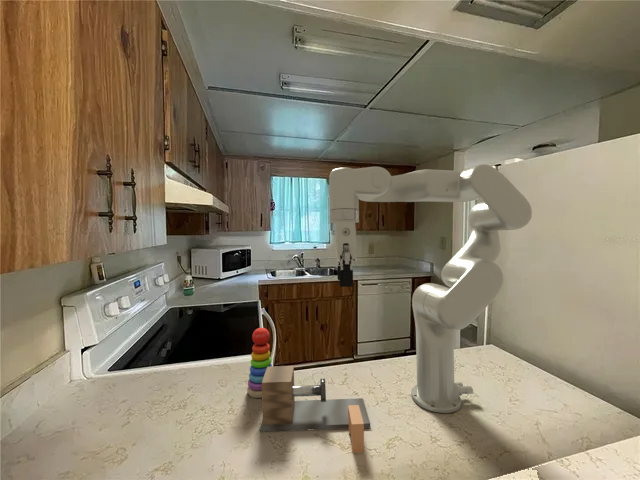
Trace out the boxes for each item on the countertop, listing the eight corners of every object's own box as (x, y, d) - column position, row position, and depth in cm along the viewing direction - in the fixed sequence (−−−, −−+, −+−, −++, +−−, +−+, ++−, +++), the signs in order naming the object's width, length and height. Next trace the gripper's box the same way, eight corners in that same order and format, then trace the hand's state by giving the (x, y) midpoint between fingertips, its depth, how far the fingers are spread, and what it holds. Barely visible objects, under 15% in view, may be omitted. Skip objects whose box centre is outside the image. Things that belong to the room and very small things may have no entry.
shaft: (325, 394, 72) (324, 374, 72) (326, 406, 67) (325, 385, 67) (265, 396, 72) (264, 376, 72) (261, 409, 67) (260, 387, 67)
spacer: (359, 430, 64) (358, 405, 64) (364, 452, 58) (363, 423, 58) (348, 430, 64) (348, 405, 64) (352, 452, 58) (351, 424, 57)
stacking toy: (268, 400, 77) (266, 333, 76) (242, 398, 78) (240, 332, 78) (278, 385, 84) (276, 324, 84) (254, 383, 86) (252, 323, 86)
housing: (362, 401, 75) (361, 361, 75) (370, 427, 65) (369, 380, 65) (267, 405, 74) (266, 364, 74) (260, 431, 64) (258, 385, 64)
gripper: (363, 214, 62) (364, 289, 63) (354, 219, 80) (355, 278, 80) (330, 214, 63) (331, 289, 63) (329, 219, 80) (329, 278, 80)
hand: (344, 283), depth 71 cm, fingers open, 9 cm apart
